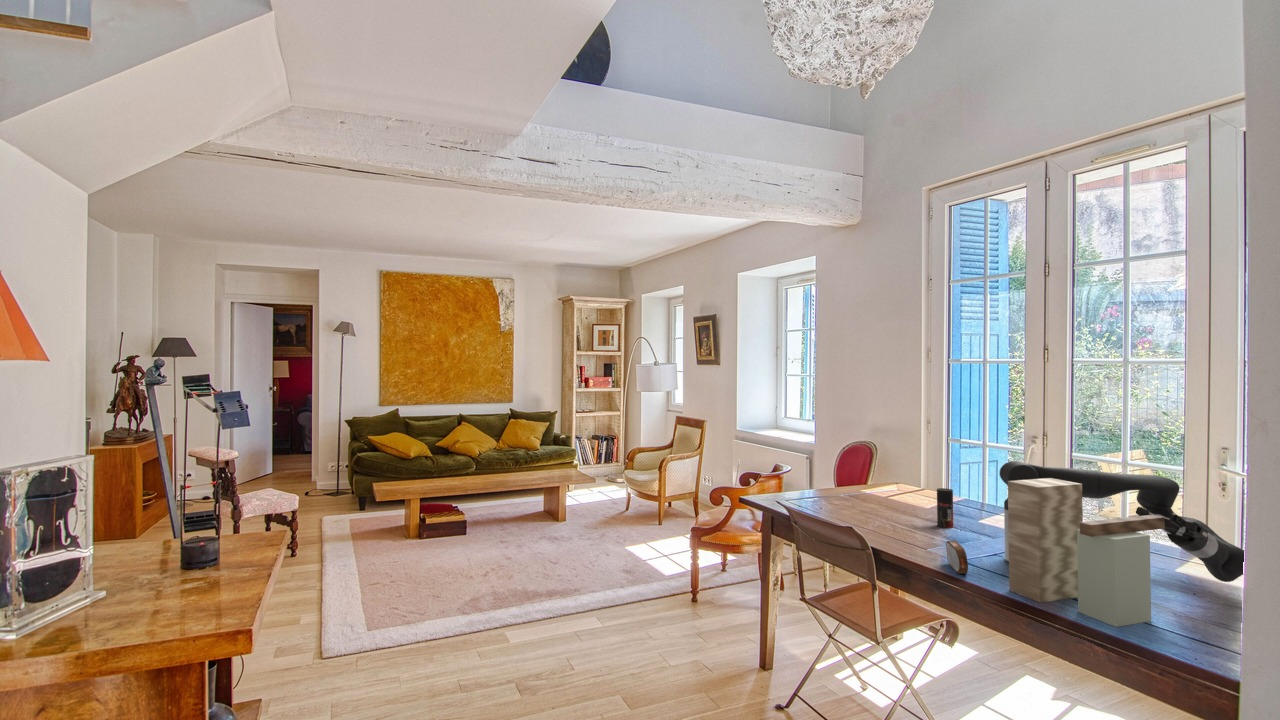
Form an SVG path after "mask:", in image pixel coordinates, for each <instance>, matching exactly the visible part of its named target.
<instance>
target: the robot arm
mask: <svg viewBox="0 0 1280 720" xmlns="http://www.w3.org/2000/svg"><path fill="white" fill-rule="evenodd" d="M999 477H1000V479H1001V480H1002V482H1003V483H1004V484H1005V485H1006V486H1008V481H1016V480H1029V479H1043V478H1053V479H1059V480H1064V481H1069V482H1075V483H1080V484H1082V498H1088V499H1094V500H1096V499H1105V498H1109V497H1112V496H1115V495H1118V494H1121V493H1125V492H1129V491H1138V492H1137V496H1136V501H1137V503H1138V504H1139V505H1140V506H1137V508H1136V510H1135V514H1136V515H1137V516H1145V515H1156V516H1161V517H1165V529H1160V530H1161V531H1163V532H1164V533H1166V536H1167V537H1168V539H1169V540H1170V541H1171V543H1173V544H1174V545H1176V546H1178V547H1179V548H1180V549H1181V550H1183V551H1185V552H1186V553H1188V554H1190V555H1192V556H1193V557H1196V558H1197V559H1198V560H1200V561H1201V562H1202V563H1203V564H1204V566H1205V567H1206V570H1207V571H1208V572H1209V574H1211V576H1212V577H1214V578H1215V579H1217V580H1218V581H1220V582H1224V583H1230V582H1234V581H1235V580H1237V579H1238V578H1240V577H1241V576H1243V575H1244V574H1243V562H1244V551H1245V550H1244V549H1242V548H1241V547H1238V546H1236V545H1235V544H1232V543H1230V542H1228V541H1226V540H1224V538H1222V537H1221V536H1219V535H1218V534H1217V533H1216V532H1215V531H1214V530H1213V529H1212V528H1211V527H1210V526H1208V525H1207V524H1206V523H1204V522H1203V521H1202V520H1201V521H1200V520H1199V519H1196V518H1192V517H1188V516H1181V515H1178V514H1177V513H1175V511H1174V510H1173V509H1172V508H1173V506H1174V503H1175V501H1176V499H1177V497H1178V496H1179V492H1180V485H1179V484H1178V482H1176V481H1175V480H1173V479H1170V478H1168V477H1165V476H1161V475H1154V474H1135V473H1133V474H1131V473H1115V472H1107V471H1099V470H1093V469H1084V468H1073V467H1070V468H1069V467H1057V466H1056V467H1055V466H1054V467H1052V466H1051V467H1050V466H1042V465H1036V464H1033V463H1032V464H1031V463H1025V462H1022V461H1018V460H1010V461H1008V462H1005V463H1004V464H1002V466H1001V467H1000V469H999ZM1003 509H1004V511H1003V515H1004V516H1003V517H1004V521H1003V522H1004V560H1005V561H1007V562H1008V563H1009V528H1008V497H1007V498H1006V499H1005V500H1004V501H1003Z"/></svg>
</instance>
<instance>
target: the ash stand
mask: <svg viewBox="0 0 1280 720" xmlns="http://www.w3.org/2000/svg"><path fill="white" fill-rule="evenodd" d="M1007 498H1008V528H1009V562H1008V570H1009V571H1008V580H1009V583H1008V584H1009V585H1008V586H1009V589H1008V590H1009V591H1010V590H1012V591H1014V592H1013V593H1015V592H1016V593H1015V594H1017V593H1019V594H1018V595H1020V594H1021V595H1020V596H1022V595H1023V597H1025V596H1026V597H1025V598H1027V597H1029V598H1028V599H1030V598H1031V599H1030V600H1032V599H1033V600H1032V601H1034V600H1036V601H1035V602H1037V601H1038V603H1039V602H1041V603H1046V602H1047V603H1048V602H1053V601H1054V602H1055V601H1061V600H1069V599H1074V598H1075V597H1076V598H1078V558H1077V529H1080V522H1084V521H1083V520H1084V519H1083V515H1084V513H1083V497H1082V484H1080V483H1075V482H1069V481H1064V480H1059V479H1053V478H1043V479H1029V480H1016V481H1008V485H1007ZM1012 591H1011V592H1012ZM1068 598H1069V599H1068Z"/></svg>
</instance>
